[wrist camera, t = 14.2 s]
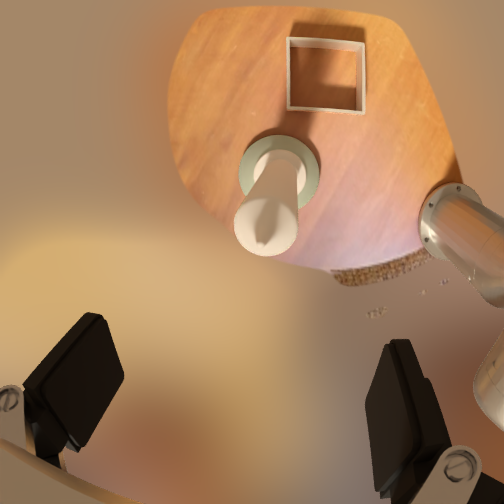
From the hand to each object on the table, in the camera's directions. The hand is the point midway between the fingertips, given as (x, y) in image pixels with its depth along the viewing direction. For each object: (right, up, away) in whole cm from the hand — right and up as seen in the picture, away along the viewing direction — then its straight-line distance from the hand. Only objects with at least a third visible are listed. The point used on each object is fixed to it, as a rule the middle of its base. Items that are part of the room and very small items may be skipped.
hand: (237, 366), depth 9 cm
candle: (+4, +14, +32) cm, 35 cm away
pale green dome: (+4, +15, +33) cm, 36 cm away
